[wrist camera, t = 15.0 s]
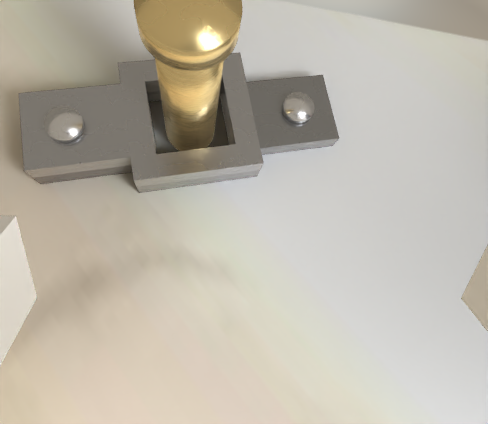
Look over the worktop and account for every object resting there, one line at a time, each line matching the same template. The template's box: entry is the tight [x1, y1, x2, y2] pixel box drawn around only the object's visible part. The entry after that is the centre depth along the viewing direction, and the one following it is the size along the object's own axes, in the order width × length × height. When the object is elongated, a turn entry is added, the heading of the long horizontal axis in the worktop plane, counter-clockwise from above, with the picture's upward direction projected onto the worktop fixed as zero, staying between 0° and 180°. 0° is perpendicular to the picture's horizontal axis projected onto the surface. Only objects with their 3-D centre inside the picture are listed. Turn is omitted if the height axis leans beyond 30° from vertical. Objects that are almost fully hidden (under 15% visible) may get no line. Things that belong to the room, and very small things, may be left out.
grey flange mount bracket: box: [19, 53, 339, 193], centre depth 30 cm, size 24×10×4 cm, turn 101°
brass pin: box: [134, 0, 242, 151], centre depth 25 cm, size 5×5×14 cm
